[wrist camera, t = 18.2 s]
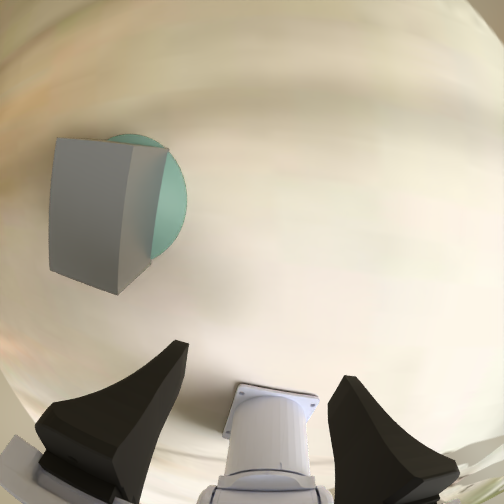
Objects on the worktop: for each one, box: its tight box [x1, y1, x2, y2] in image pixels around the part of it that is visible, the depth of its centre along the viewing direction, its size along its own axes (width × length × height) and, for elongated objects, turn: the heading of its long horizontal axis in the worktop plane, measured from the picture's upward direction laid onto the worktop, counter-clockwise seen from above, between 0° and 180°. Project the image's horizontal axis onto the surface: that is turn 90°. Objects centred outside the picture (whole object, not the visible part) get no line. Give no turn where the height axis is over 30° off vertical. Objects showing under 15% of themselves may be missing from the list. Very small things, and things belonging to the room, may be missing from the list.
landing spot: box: [108, 134, 187, 260], centre depth 20 cm, size 10×10×1 cm
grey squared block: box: [49, 138, 169, 295], centre depth 17 cm, size 9×6×6 cm, turn 167°
